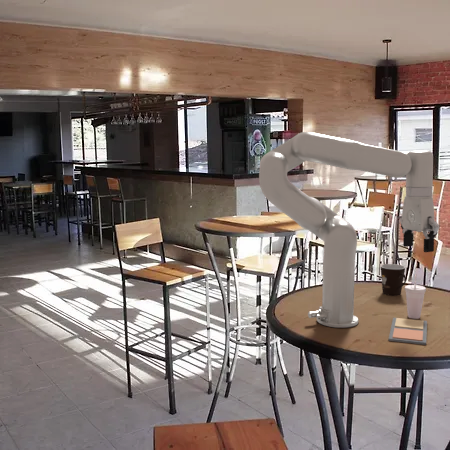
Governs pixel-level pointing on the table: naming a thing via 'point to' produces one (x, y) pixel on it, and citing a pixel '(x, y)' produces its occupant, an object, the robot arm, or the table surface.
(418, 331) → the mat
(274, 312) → the table surface
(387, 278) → the coffee mug
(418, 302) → the smoothie
